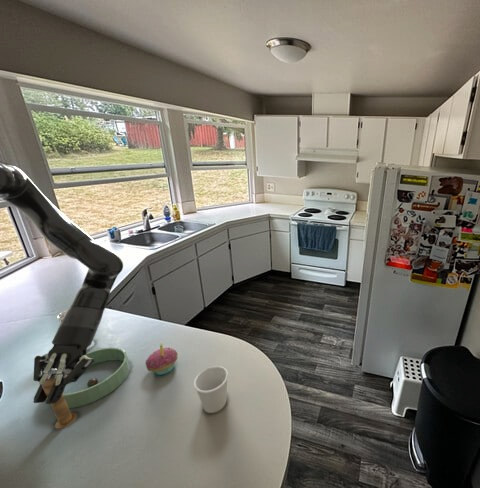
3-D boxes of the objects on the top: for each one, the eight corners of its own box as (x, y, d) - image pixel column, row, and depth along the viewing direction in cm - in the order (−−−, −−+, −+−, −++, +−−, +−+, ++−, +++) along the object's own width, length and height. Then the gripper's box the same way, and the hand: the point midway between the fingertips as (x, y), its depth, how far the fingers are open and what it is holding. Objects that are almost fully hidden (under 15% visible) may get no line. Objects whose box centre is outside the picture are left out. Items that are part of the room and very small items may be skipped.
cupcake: (185, 367, 82) (179, 337, 78) (157, 386, 75) (149, 354, 71) (170, 356, 86) (163, 327, 82) (143, 373, 79) (134, 343, 75)
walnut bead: (88, 388, 71) (85, 388, 72) (99, 386, 73) (96, 385, 74) (88, 379, 72) (86, 379, 73) (99, 377, 74) (97, 377, 75)
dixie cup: (207, 426, 64) (202, 398, 61) (193, 406, 69) (188, 378, 66) (237, 404, 70) (234, 377, 67) (222, 386, 75) (218, 360, 72)
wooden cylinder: (53, 434, 61) (32, 392, 57) (59, 419, 65) (40, 378, 60) (75, 426, 63) (57, 385, 58) (80, 412, 66) (63, 372, 62)
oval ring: (42, 421, 64) (34, 406, 62) (66, 372, 78) (61, 358, 76) (125, 394, 72) (121, 379, 70) (134, 353, 86) (130, 341, 84)
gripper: (39, 322, 63) (-3, 403, 55) (93, 325, 62) (58, 407, 55) (67, 326, 69) (33, 399, 62) (116, 329, 69) (87, 402, 62)
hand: (45, 402), depth 59 cm, fingers closed on wooden cylinder, 2 cm apart
